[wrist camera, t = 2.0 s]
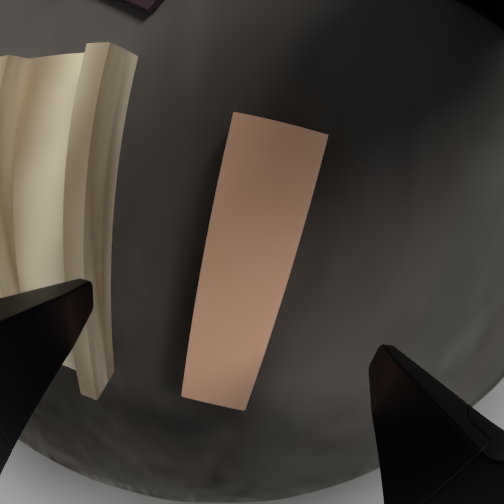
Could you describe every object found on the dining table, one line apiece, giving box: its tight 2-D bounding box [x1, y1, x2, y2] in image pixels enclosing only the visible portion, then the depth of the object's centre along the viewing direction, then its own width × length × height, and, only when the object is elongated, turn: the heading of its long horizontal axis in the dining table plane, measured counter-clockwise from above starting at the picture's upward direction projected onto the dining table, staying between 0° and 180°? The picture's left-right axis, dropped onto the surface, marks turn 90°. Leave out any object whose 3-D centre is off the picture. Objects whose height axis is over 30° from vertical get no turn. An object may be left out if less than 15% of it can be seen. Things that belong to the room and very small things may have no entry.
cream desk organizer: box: [0, 42, 138, 400], centre depth 12 cm, size 12×16×2 cm
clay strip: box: [181, 112, 328, 411], centre depth 12 cm, size 3×12×2 cm, turn 167°
